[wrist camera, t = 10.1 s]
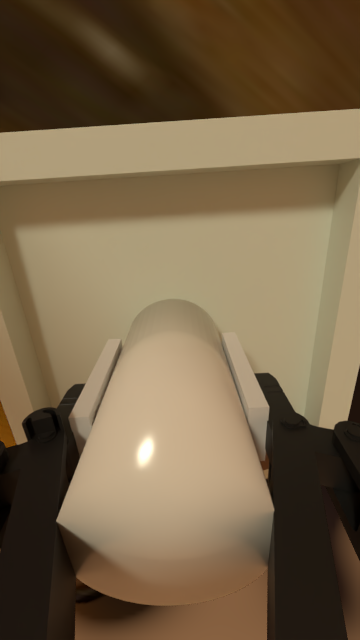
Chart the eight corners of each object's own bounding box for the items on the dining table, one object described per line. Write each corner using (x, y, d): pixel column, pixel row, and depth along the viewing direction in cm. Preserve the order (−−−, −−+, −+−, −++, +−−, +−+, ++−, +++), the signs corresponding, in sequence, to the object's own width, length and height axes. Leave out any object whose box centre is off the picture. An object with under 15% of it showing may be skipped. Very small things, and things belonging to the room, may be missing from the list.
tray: (50, 458, 25) (34, 490, 22) (-50, 151, 16) (-98, 139, 13) (317, 445, 25) (335, 475, 22) (373, 123, 15) (416, 104, 13)
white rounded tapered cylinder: (134, 381, 20) (79, 610, 9) (122, 301, 17) (26, 471, 6) (218, 377, 20) (273, 601, 8) (218, 295, 17) (291, 457, 6)
